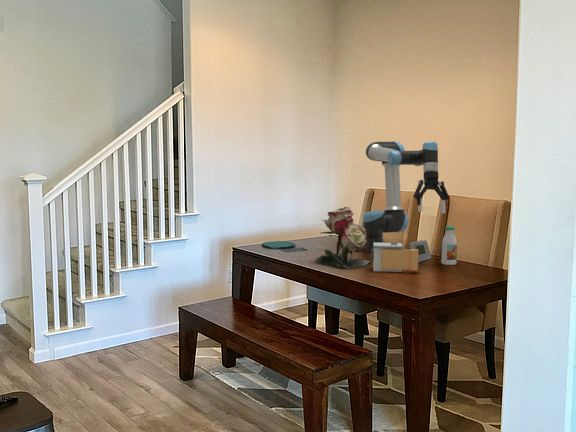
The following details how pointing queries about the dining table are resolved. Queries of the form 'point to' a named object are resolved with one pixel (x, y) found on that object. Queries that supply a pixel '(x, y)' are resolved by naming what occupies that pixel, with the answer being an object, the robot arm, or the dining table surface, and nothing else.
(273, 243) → the cutlery set
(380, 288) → the dining table surface
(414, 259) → the tan long-handled part
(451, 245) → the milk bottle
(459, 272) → the dining table surface
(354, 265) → the rose bouquet
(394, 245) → the box
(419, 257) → the digital clock
